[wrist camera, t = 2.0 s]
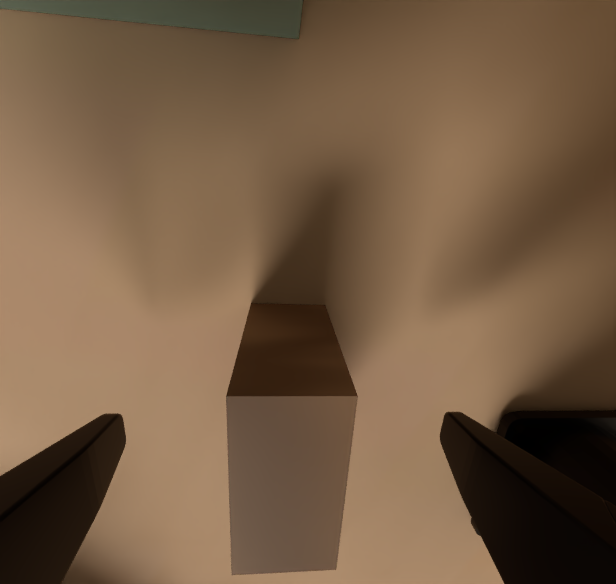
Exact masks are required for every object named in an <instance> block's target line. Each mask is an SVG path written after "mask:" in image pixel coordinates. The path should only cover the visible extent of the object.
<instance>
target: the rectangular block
mask: <svg viewBox="0 0 616 584" xmlns="http://www.w3.org/2000/svg"><path fill="white" fill-rule="evenodd" d="M357 397H358V396H357V393H356V390H355V387H354V385H353V382H352V379H351V376H350V374H349V371H348V368H347V365H346V363H345V360H344V357H343V354H342V351H341V349H340V346H339V343H338V340H337V338H336V335H335V332H334V329H333V327H332V324H331V321H330V318H329V315H328V313H327V310H326V307H325V305H297V304H257V303H251V306H250V310H249V313H248V317H247V321H246V324H245V328H244V332H243V336H242V339H241V343H240V347H239V351H238V354H237V358H236V362H235V366H234V369H233V373H232V377H231V380H230V384H229V388H228V392H227V395H226V406H227V439H228V471H229V504H230V537H231V569H232V575H244V574H263V573H282V572H301V571H319V570H336V567H337V558H338V550H339V542H340V534H341V526H342V518H343V510H344V502H345V494H346V486H347V478H348V470H349V462H350V454H351V446H352V438H353V430H354V422H355V413H356V405H357Z"/></svg>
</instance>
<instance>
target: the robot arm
mask: <svg viewBox="0 0 616 584" xmlns="http://www.w3.org/2000/svg"><path fill="white" fill-rule="evenodd" d="M440 442H441V445H442V448H443V450H444V453H445V455H446V458H447V461H448V463H449V466H450V468H451V471H452V474H453V476H454V479H455V481H456V484H457V487H458V489H459V491H460V494H461V496H462V498H463V501H464V503H465V505H466V507H467V509H468V511H469V513H470V515H471V517H472V518H471V524H472V526H473V528H474V529H475V531H476V533H477V534H478V535H480V536H481V537H482V539H483V541H484V543H485V545H486V547H487V549H488V551H489V553H490V555H491V558H492V560H493V562H494V564H495V566H496V568H497V570H498V572H499V574H500V576H501V578H502V580H503V582H504V584H616V411H515V412H510V413H508V414H506V415H505V416H504V417H503V418H502V420H501V422H500V425H499V429H498V432H497V434H496V433H494V432H493V431H491V430H489V429H488V428H486V427H485V426H483V425H481V424H480V423H478V422H476V421H475V420H473V419H471V418H470V417H468V416H466V415H465V414H463V413H461V412H447V413H446V414H445V415H444V419H443V423H442V427H441V432H440ZM125 444H126V435H125V429H124V422H123V417H122V415H121V414H103V415H101V416H99V417H98V418H96V419H94V420H93V421H91V422H89V423H88V424H86V425H84V426H83V427H81V428H79V429H78V430H76V431H74V432H73V433H71V434H69V435H68V436H66V437H65V438H63V439H61V440H60V441H58V442H56V443H55V444H53V445H51V446H50V447H48V448H46V449H45V450H43V451H41V452H40V453H38V454H36V455H35V456H33V457H31V458H30V459H28V460H26V461H25V462H23V463H21V464H20V465H18V466H16V467H15V468H13V469H11V470H10V471H8V472H6V473H5V474H3V475H1V476H0V584H61V583H62V581H63V579H64V577H65V575H66V573H67V571H68V569H69V567H70V565H71V563H72V561H73V560H74V558H75V556H76V554H77V552H78V550H79V548H80V546H81V544H82V542H83V540H84V538H85V536H86V534H87V533H88V531H89V529H90V527H91V525H92V523H93V521H94V519H95V517H96V515H97V513H98V511H99V509H100V507H101V504H102V502H103V500H104V497H105V495H106V492H107V490H108V487H109V485H110V483H111V480H112V478H113V475H114V473H115V470H116V468H117V465H118V463H119V460H120V458H121V455H122V453H123V450H124V448H125Z"/></svg>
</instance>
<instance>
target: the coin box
mask: <svg viewBox="0 0 616 584" xmlns="http://www.w3.org/2000/svg"><path fill="white" fill-rule="evenodd" d="M302 5H303V0H0V9H10V10H20V11H30V12H40V13H49V14H59V15H69V16H79V17H89V18H98V19H108V20H118V21H128V22H137V23H147V24H157V25H167V26H177V27H186V28H196V29H206V30H216V31H226V32H235V33H245V34H255V35H265V36H274V37H284V38H294V39H299V32H300V23H301V14H302Z"/></svg>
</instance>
